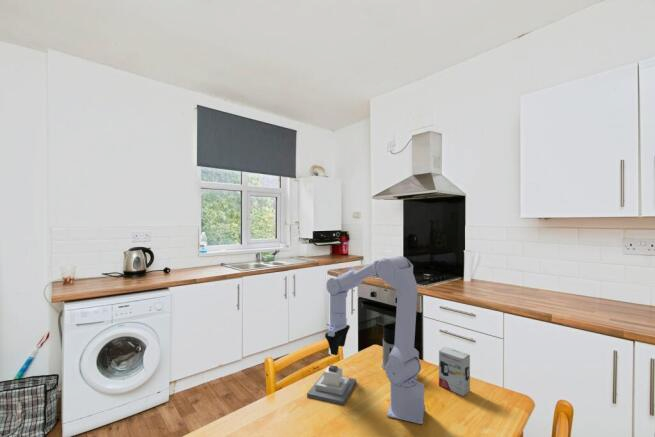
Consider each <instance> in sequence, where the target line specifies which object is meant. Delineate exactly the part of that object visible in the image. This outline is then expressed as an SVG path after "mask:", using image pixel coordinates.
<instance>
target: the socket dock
mask: <svg viewBox="0 0 655 437" xmlns="http://www.w3.org/2000/svg"><path fill="white" fill-rule="evenodd" d="M356 384H357V379H356V378H352V377H348V376H347V377H346V376H342V385H341V386H340V388H339V387H334V386H329V385H324V372H323V373H322V375H321V376H319V378H318V380H316V382H315V383H314V384H313V385H312V386H311V388H310V389H309V390H308V392H307V393H306V397H307V398H311V399H315V400H320V401H325V402H328V403H333V404H337V405H342V406H344V405H345V404H346V401H347V400H348V399H349V396H350V394H351V393H352V392H353V389H354V387H355V385H356Z"/></svg>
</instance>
